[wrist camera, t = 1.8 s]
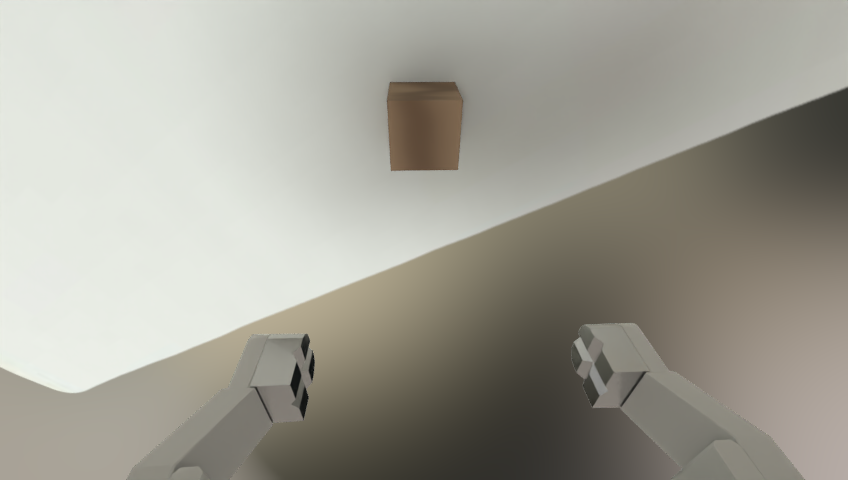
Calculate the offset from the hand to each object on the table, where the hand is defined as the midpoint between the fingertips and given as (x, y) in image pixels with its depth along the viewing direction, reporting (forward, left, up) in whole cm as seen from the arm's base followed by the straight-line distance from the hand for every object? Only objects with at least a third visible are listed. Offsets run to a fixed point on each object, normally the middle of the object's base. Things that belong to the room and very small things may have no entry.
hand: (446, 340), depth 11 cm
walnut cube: (0, 0, -22) cm, 22 cm away
